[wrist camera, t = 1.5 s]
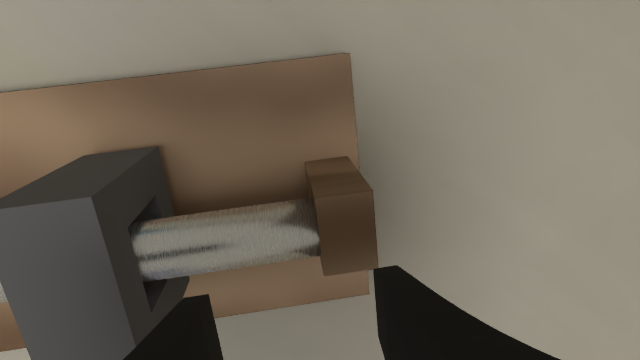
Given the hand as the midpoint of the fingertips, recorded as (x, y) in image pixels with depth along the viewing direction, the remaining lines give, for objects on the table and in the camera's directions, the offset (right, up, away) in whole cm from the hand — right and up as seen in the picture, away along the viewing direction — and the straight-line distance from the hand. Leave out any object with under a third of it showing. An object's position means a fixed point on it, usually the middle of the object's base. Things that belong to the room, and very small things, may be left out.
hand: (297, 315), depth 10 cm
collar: (-7, +2, +8) cm, 11 cm away
